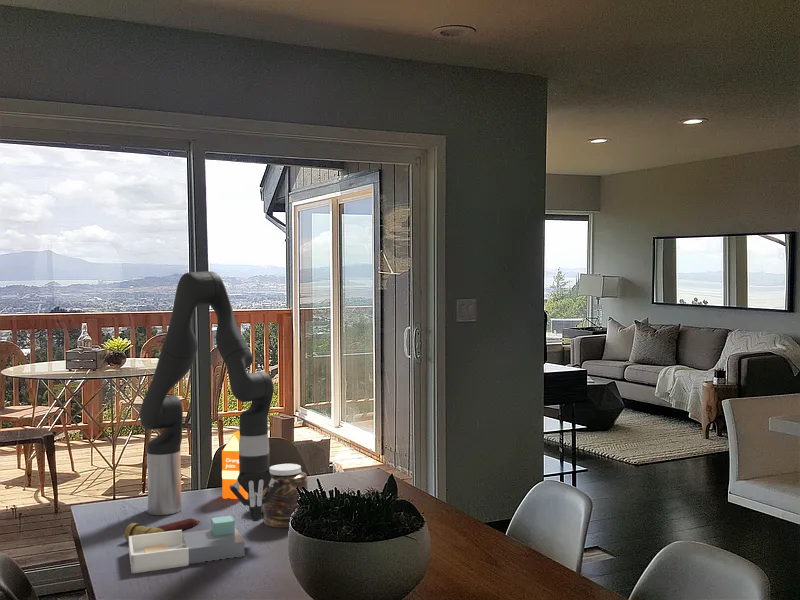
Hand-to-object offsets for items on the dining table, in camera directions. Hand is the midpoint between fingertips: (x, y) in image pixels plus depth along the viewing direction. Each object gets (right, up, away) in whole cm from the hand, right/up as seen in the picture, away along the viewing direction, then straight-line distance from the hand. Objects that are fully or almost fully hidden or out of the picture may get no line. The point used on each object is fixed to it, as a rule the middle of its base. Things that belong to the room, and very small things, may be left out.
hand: (255, 520), depth 193 cm
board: (-9, -6, -7) cm, 13 cm away
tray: (-21, -6, -12) cm, 25 cm away
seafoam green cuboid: (-8, -2, -3) cm, 8 cm away
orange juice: (-13, -5, +45) cm, 47 cm away
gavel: (-24, -6, +7) cm, 26 cm away
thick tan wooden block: (-20, -2, -15) cm, 25 cm away
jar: (+5, -5, +17) cm, 18 cm away
